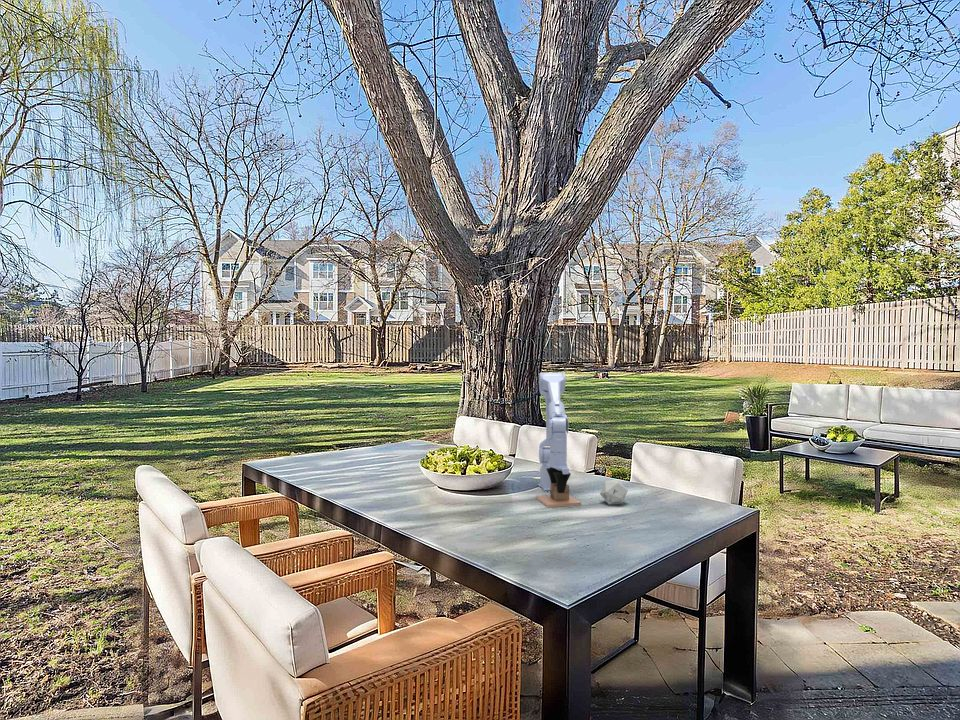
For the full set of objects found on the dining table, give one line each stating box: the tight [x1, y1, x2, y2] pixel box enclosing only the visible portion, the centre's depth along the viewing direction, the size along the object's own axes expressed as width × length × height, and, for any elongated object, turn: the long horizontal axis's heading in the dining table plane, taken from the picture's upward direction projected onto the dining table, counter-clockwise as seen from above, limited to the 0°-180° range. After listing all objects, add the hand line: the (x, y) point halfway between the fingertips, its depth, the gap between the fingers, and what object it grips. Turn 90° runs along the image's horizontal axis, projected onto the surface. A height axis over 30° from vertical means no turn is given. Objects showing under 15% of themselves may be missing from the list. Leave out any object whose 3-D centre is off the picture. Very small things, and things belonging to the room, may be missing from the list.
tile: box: [535, 494, 582, 509], centre depth 201 cm, size 12×12×1 cm
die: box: [599, 479, 628, 506], centre depth 200 cm, size 8×9×10 cm
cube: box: [549, 483, 570, 501], centre depth 201 cm, size 5×5×5 cm
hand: (558, 490), depth 201 cm, fingers closed on cube, 5 cm apart
